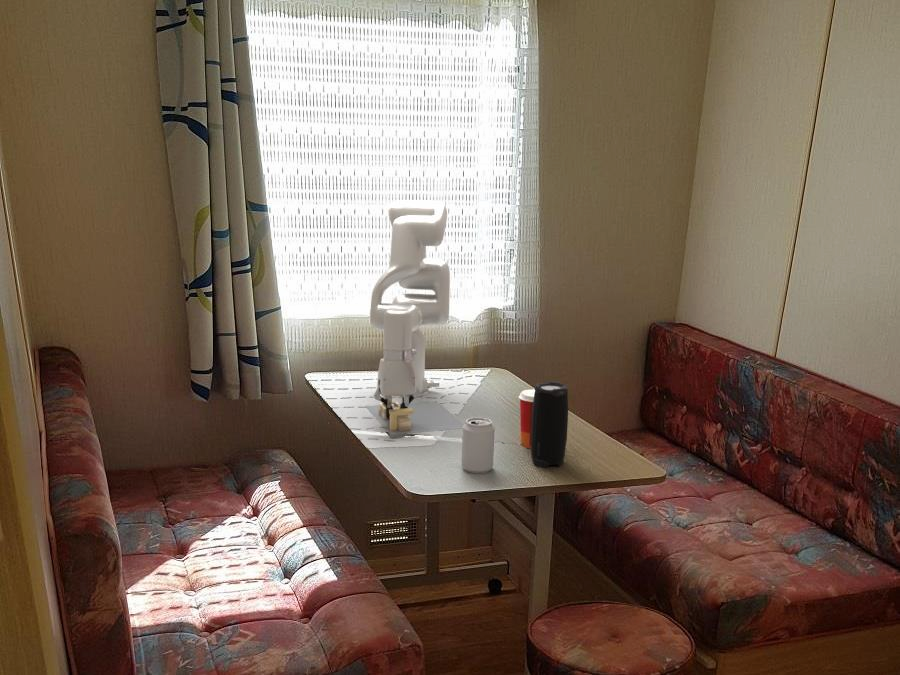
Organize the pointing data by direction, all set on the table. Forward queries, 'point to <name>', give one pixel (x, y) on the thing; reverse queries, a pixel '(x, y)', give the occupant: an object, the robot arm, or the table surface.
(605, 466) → the table surface
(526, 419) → the paper cup
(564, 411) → the portable speaker
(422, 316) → the robot arm
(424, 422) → the slate base
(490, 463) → the can
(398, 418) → the wooden link
